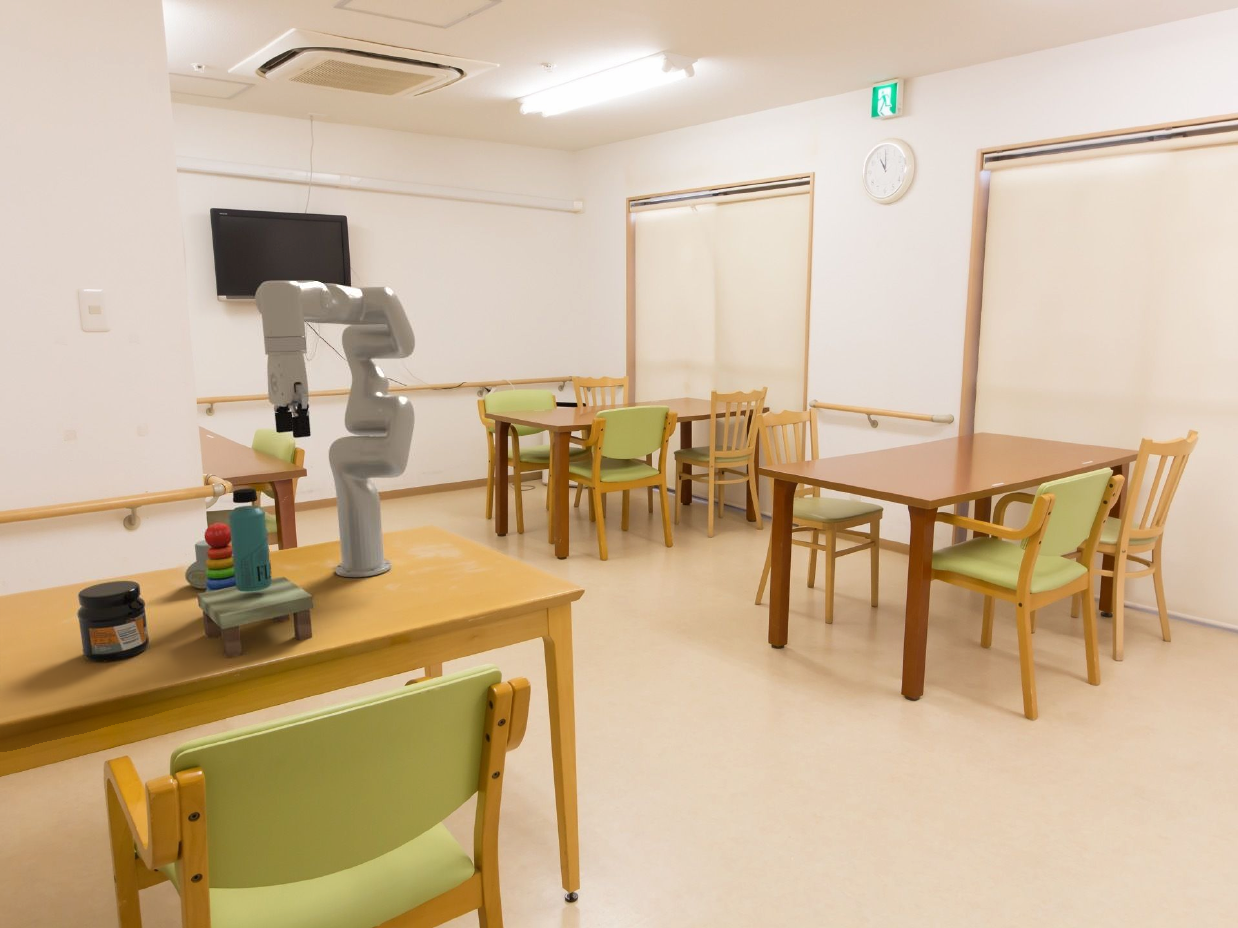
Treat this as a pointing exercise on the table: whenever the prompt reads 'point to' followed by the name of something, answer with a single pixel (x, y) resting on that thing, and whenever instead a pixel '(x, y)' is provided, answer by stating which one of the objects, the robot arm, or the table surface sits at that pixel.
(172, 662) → the table surface
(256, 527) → the beverage bottle
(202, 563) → the grey flask
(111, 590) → the supplement container
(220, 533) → the stacking toy
